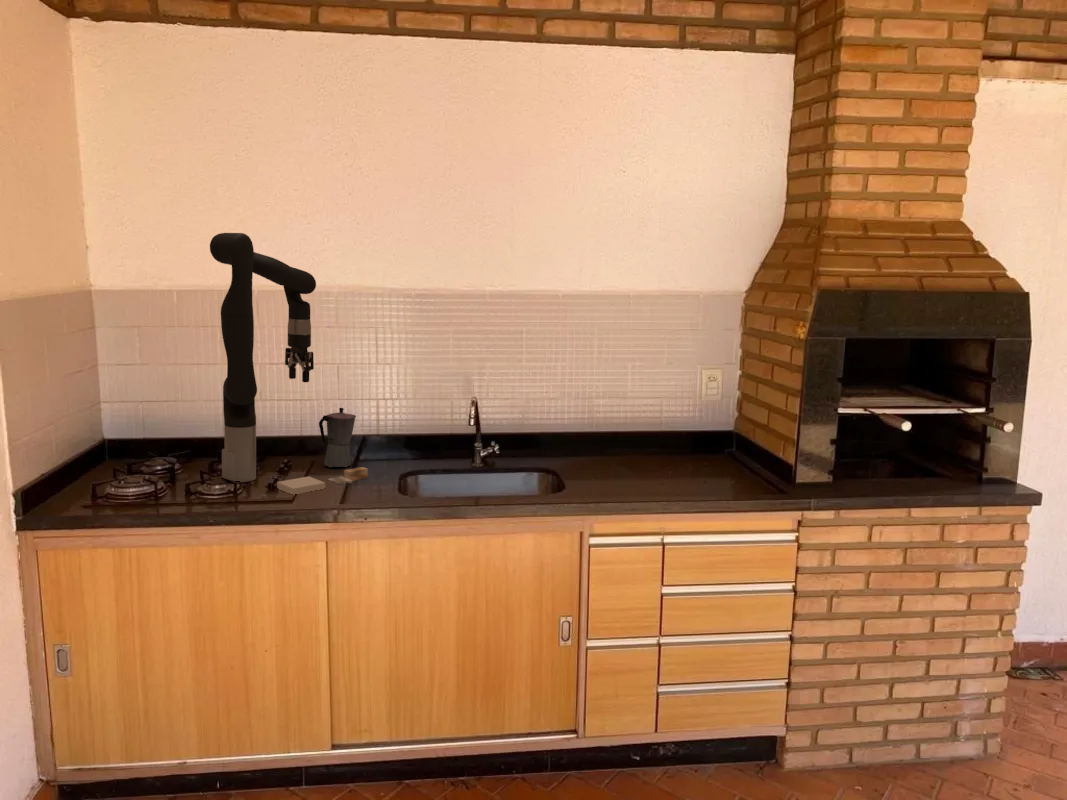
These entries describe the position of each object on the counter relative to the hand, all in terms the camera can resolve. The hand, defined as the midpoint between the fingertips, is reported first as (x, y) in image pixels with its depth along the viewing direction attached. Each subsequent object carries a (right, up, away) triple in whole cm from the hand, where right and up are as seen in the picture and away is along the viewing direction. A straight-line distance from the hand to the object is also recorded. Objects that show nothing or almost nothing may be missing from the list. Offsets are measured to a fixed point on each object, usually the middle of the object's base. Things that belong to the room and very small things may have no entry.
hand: (299, 380), depth 273 cm
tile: (+9, -33, -28) cm, 44 cm away
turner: (+20, -32, -15) cm, 41 cm away
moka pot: (+13, -29, +1) cm, 32 cm away
